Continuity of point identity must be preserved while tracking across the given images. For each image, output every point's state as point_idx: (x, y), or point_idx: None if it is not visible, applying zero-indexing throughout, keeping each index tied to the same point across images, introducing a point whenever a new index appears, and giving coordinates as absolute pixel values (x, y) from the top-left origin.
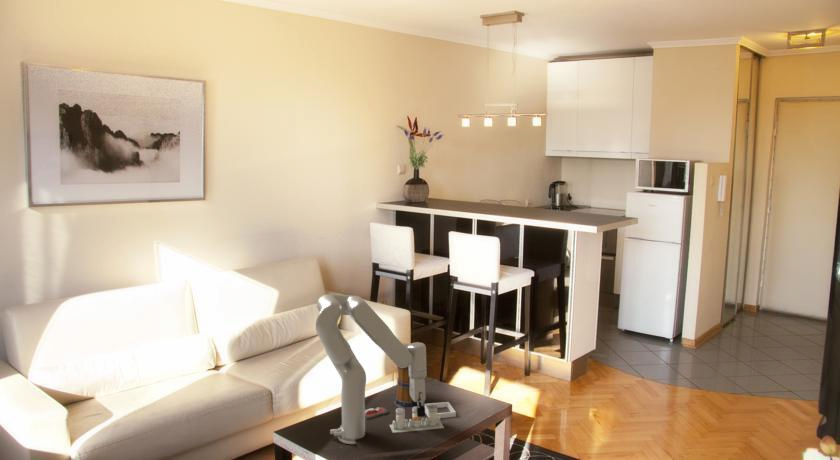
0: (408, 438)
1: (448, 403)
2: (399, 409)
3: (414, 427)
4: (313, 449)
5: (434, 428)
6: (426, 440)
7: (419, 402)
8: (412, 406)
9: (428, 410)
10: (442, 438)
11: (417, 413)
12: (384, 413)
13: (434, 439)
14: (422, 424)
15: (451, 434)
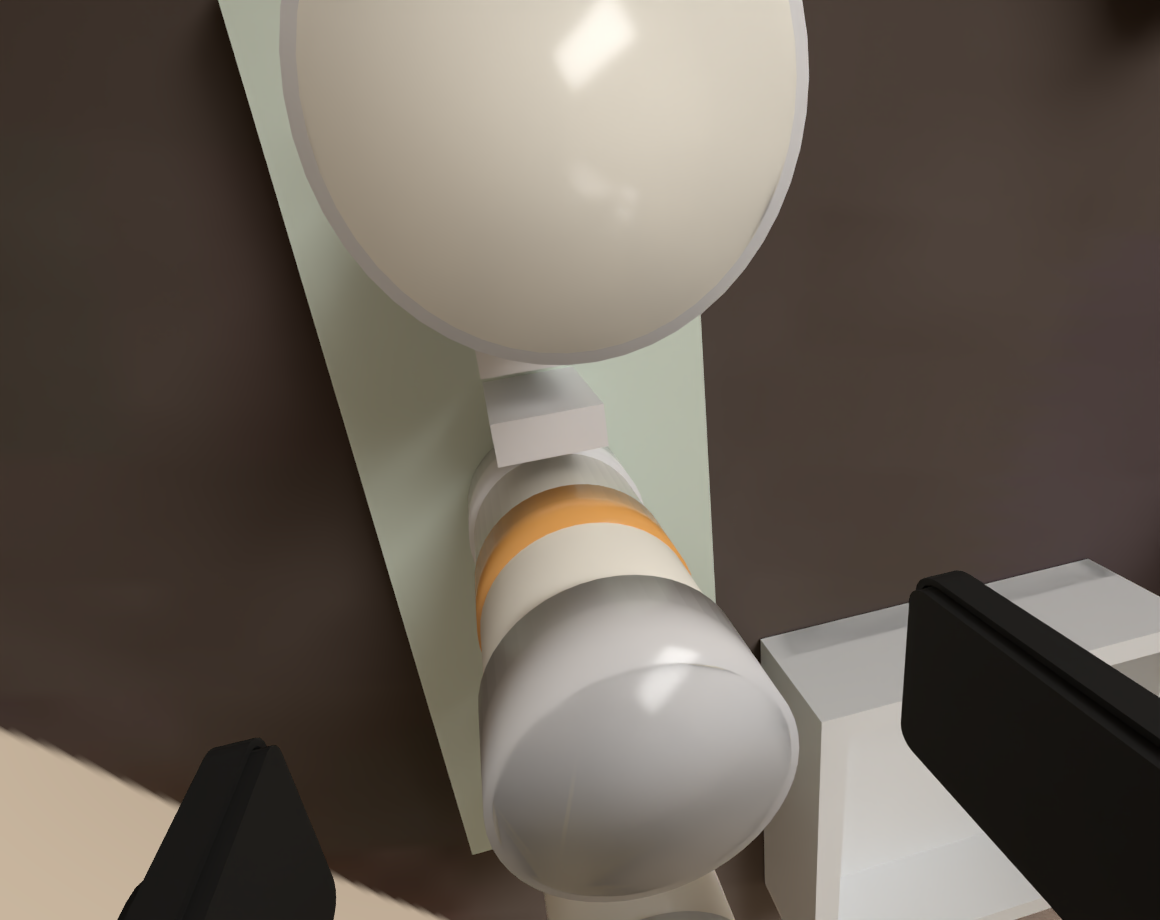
0: (161, 324)
1: None
2: (574, 39)
3: (477, 467)
4: None
5: (452, 749)
6: (124, 619)
7: (1006, 841)
8: (946, 591)
9: (655, 917)
10: None
11: (174, 837)
12: None
13: (184, 720)
14: None
15: (375, 882)
